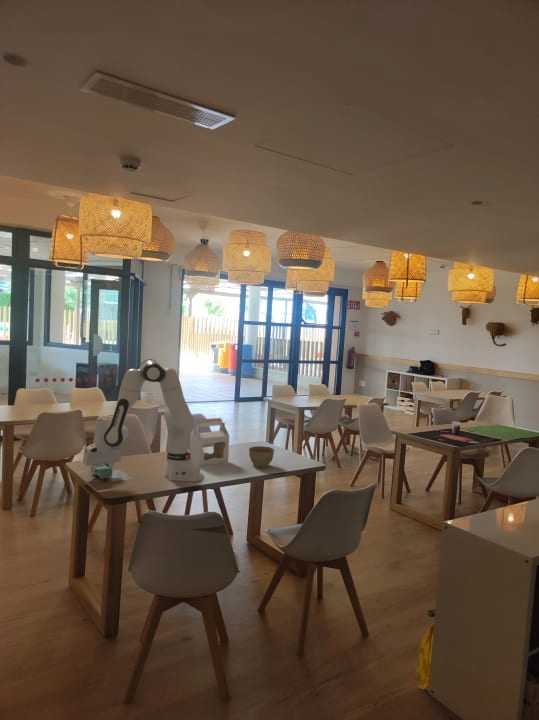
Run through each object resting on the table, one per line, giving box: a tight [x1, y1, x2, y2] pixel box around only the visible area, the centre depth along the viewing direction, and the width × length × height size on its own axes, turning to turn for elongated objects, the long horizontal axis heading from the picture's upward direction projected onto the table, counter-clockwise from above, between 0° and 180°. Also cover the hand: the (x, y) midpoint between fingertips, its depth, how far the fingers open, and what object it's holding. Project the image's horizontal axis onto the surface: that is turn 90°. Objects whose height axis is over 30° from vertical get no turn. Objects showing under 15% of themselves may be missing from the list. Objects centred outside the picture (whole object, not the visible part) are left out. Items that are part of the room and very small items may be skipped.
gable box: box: [188, 417, 230, 467], centre depth 331 cm, size 22×13×28 cm, turn 125°
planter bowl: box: [248, 445, 275, 469], centre depth 328 cm, size 16×16×11 cm
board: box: [91, 464, 112, 477], centre depth 288 cm, size 14×6×3 cm, turn 37°
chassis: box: [90, 466, 133, 484], centre depth 289 cm, size 20×17×6 cm
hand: (102, 471), depth 288 cm, fingers open, 7 cm apart
